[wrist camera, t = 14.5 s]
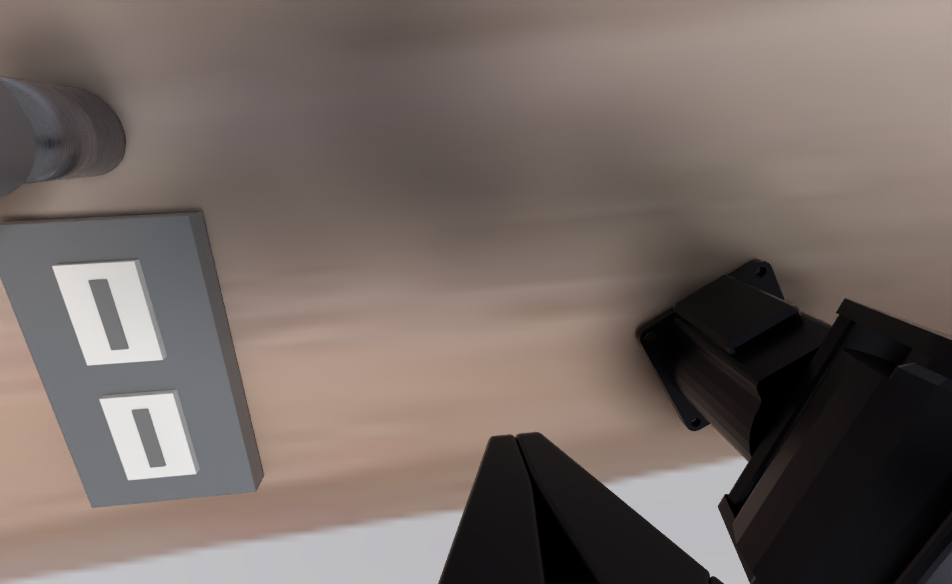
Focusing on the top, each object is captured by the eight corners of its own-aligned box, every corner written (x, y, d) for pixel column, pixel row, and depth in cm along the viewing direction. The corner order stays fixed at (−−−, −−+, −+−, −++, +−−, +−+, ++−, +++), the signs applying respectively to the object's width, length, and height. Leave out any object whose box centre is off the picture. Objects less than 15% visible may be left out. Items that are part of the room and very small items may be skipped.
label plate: (5, 221, 17) (-31, 228, 15) (201, 211, 17) (183, 217, 16) (107, 491, 21) (85, 514, 19) (263, 476, 21) (252, 498, 20)
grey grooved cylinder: (144, 146, 16) (57, 148, 13) (81, 192, 17) (-22, 207, 13) (77, 69, 15) (-39, 44, 12) (12, 118, 16) (-122, 111, 12)
